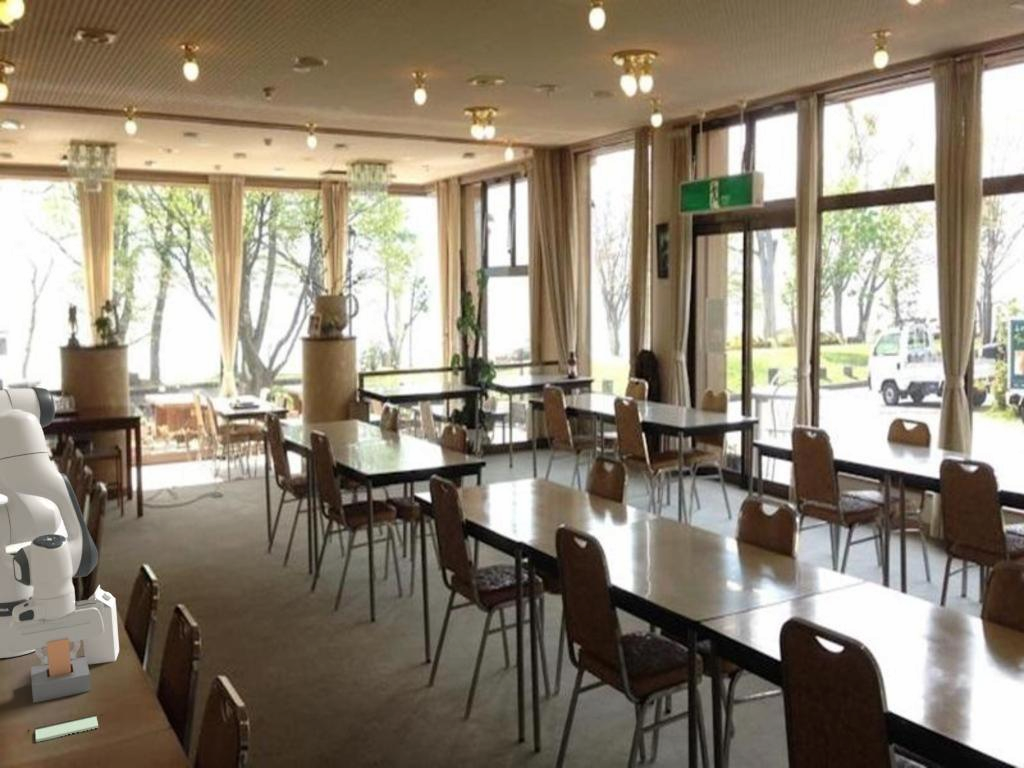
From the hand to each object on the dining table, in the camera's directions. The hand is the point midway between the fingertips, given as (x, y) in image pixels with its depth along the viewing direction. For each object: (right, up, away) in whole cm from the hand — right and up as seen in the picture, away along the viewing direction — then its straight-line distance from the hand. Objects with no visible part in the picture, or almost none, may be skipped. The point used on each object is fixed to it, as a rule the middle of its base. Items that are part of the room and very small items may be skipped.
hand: (59, 661), depth 217 cm
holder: (0, -7, +1) cm, 7 cm away
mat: (+8, -9, -14) cm, 19 cm away
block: (0, -6, +1) cm, 6 cm away
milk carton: (+2, -5, +18) cm, 19 cm away
